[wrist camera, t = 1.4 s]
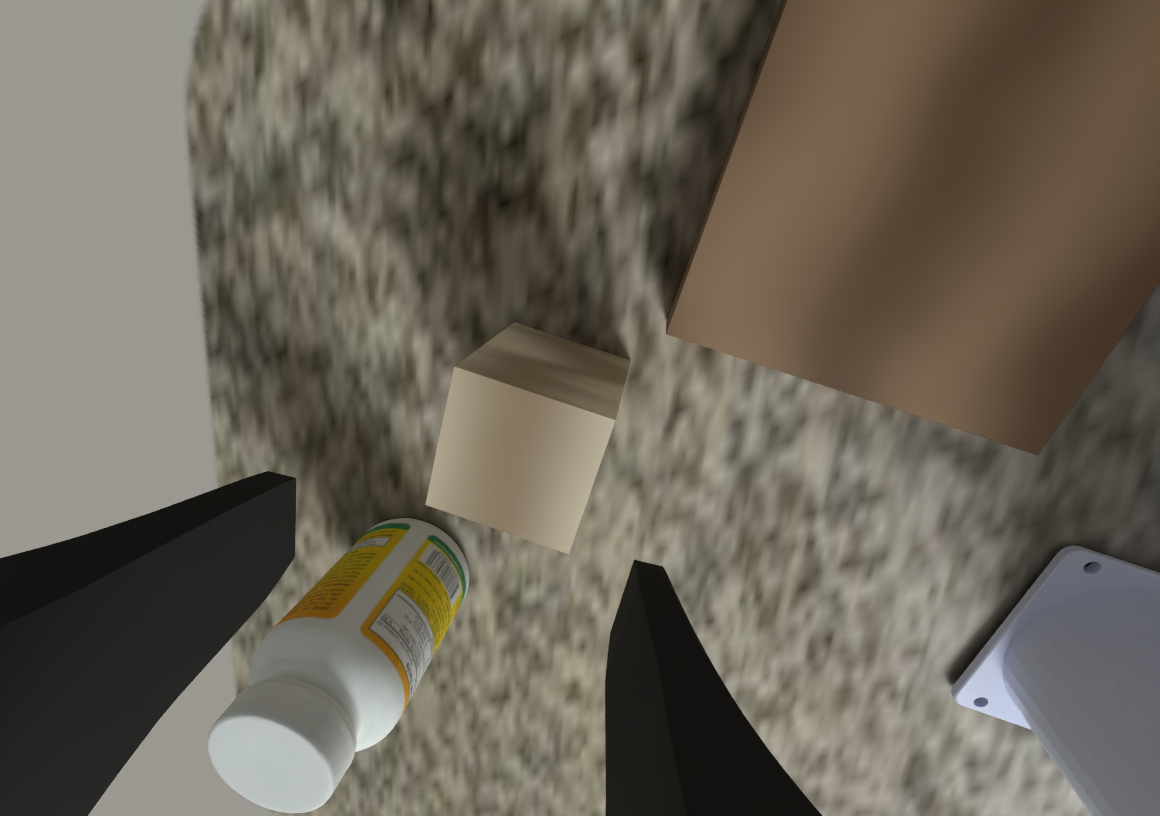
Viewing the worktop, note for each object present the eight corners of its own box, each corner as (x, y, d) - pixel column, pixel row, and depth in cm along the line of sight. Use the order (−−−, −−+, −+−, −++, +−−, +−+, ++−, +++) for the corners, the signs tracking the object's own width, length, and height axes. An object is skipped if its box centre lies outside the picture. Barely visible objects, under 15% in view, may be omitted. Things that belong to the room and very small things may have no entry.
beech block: (630, 360, 20) (615, 420, 14) (595, 463, 21) (568, 554, 16) (514, 322, 20) (454, 366, 14) (488, 427, 21) (425, 504, 16)
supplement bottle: (486, 542, 23) (374, 747, 14) (454, 628, 25) (338, 855, 16) (373, 494, 23) (192, 670, 14) (349, 584, 25) (178, 786, 17)
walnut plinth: (1267, 26, 14) (1360, -2, 12) (1000, 430, 18) (1038, 455, 16) (818, -103, 14) (841, -149, 12) (666, 321, 19) (666, 334, 17)
